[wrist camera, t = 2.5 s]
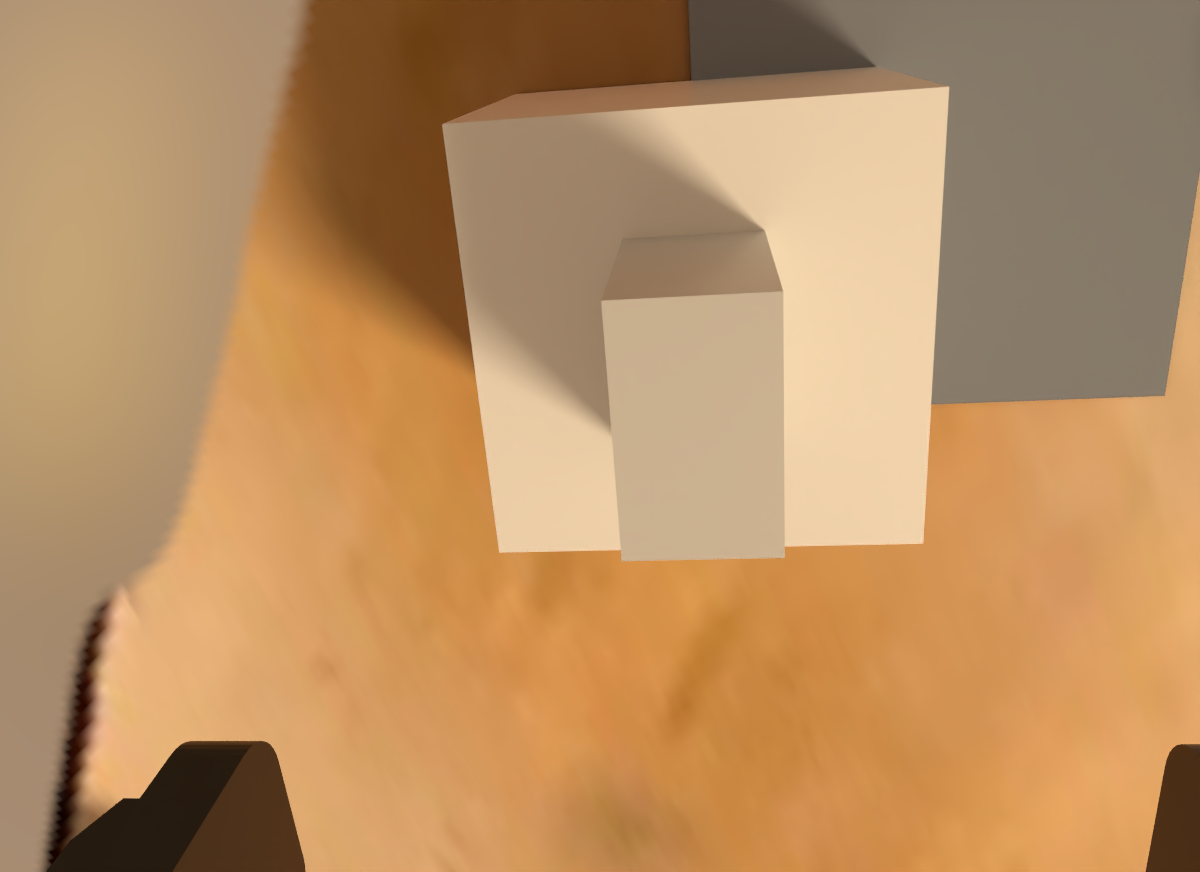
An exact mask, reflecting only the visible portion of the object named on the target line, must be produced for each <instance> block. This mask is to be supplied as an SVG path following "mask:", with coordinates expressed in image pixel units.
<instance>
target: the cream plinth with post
mask: <svg viewBox="0 0 1200 872" xmlns="http://www.w3.org/2000/svg"><path fill="white" fill-rule="evenodd" d="M948 100H949V86H945V85H942V84H938V83H934V82H931V81H927V80H923V79H920V78H916V77H912V76H909V75H905V74H902V73H898V72H894V71H891V70H887V69H883V68H880V67H865V68H852V69H839V70H826V71H813V72H800V73H787V74H774V75H761V76H748V77H735V78H722V79H709V80H696V81H678V82H665V83H652V84H639V85H626V86H613V87H600V88H587V89H574V90H561V91H548V92H535V93H522V94H514V95H512V96H509V97H507V98H504V99H502V100H499V101H497V102H495V103H492V104H490V105H487V106H485V107H482V108H480V109H478V110H475V111H473V112H470V113H468V114H465V115H463V116H460V117H458V118H456V119H453V120H451V121H448V122H446V123H443V124H442V128H443V136H444V143H445V151H446V158H447V166H448V173H449V181H450V188H451V195H452V203H453V210H454V218H455V225H456V233H457V240H458V248H459V255H460V262H461V270H462V277H463V285H464V292H465V300H466V307H467V315H468V322H469V330H470V337H471V344H472V352H473V359H474V367H475V374H476V382H477V389H478V397H479V404H480V411H481V419H482V426H483V434H484V441H485V449H486V456H487V464H488V471H489V479H490V486H491V493H492V501H493V508H494V516H495V523H496V531H497V538H498V546H499V553H501V552H548V551H595V550H621V558H622V561H651V560H701V559H751V558H785V546H830V545H878V544H923V537H924V520H925V502H926V485H927V467H928V450H929V432H930V415H931V397H932V380H933V362H934V345H935V327H936V310H937V293H938V275H939V258H940V240H941V223H942V205H943V188H944V170H945V153H946V135H947V118H948Z"/></svg>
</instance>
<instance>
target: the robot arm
mask: <svg viewBox="0 0 1200 872" xmlns="http://www.w3.org/2000/svg"><path fill="white" fill-rule="evenodd" d="M47 872H305V863H304V858H303V854H302V850H301V846H300V843H299V839H298V835H297V831H296V827H295V823H294V819H293V815H292V812H291V808H290V804H289V800H288V796H287V792H286V788H285V784H284V781H283V777H282V773H281V769H280V765H279V761H278V758H277V755H276V753H275V751H274V749H273V748H272V746H271V745H270V744H268V743H267V742H264V741H189V742H185V743H183V744H182V745H180V746H179V747H178V748H177V749H176V750H175V751H174V752H173V753H172V754H171V756H170V757H169V758H168V760H167V761H166V763H165V764H164V765H163V767H162V768H161V770H160V771H159V772H158V774H157V775H156V777H155V778H154V779H153V781H152V782H151V784H150V785H149V786H148V788H147V789H146V790H145V792H144V793H143V795H142V796H141V797H140V799H131V798H123V799H122V800H121V801H120V802H118V803H117V804H116V805H115V806H113V807H112V808H111V809H110V810H108V811H107V812H106V813H105V814H103V815H102V816H101V817H100V818H98V819H97V820H96V821H95V822H93V823H92V824H91V825H90V826H88V827H87V828H86V829H85V830H83V831H82V832H81V833H80V834H78V835H77V836H76V837H75V838H73V839H72V840H71V841H70V842H69V843H68V844H67V845H66V847H65V848H64V849H63V851H62V852H61V853H60V855H59V856H58V857H57V859H56V860H55V861H54V862H53V864H52V865H51V866H50V868H49V869H48V870H47ZM1146 872H1200V744H1181V745H1177V746H1175V747H1174V748H1173V749H1172V750H1171V752H1170V753H1169V755H1168V758H1167V761H1166V765H1165V770H1164V775H1163V781H1162V786H1161V792H1160V797H1159V803H1158V808H1157V814H1156V819H1155V824H1154V830H1153V835H1152V841H1151V846H1150V852H1149V857H1148V862H1147V868H1146Z"/></svg>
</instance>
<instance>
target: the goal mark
mask: <svg viewBox="0 0 1200 872" xmlns="http://www.w3.org/2000/svg"><path fill="white" fill-rule="evenodd" d="M688 7H689V32H690V58H691V81H696V80H709V79H722V78H735V77H748V76H761V75H774V74H787V73H800V72H813V71H826V70H839V69H852V68H865V67H880V68H883V69H887V70H891V71H894V72H898V73H902V74H905V75H909V76H912V77H916V78H920V79H923V80H927V81H931V82H934V83H938V84H942V85H945V86H949V100H948V118H947V135H946V153H945V170H944V188H943V205H942V223H941V240H940V258H939V275H938V293H937V310H936V327H935V345H934V362H933V380H932V397H931V404H956V403H983V402H1010V401H1036V400H1063V399H1090V398H1117V397H1144V396H1165V391H1166V384H1167V378H1168V371H1169V365H1170V359H1171V352H1172V346H1173V339H1174V333H1175V326H1176V320H1177V314H1178V307H1179V301H1180V294H1181V288H1182V281H1183V275H1184V269H1185V262H1186V256H1187V249H1188V243H1189V236H1190V230H1191V224H1192V217H1193V211H1194V204H1195V198H1196V192H1197V185H1198V179H1199V172H1200V0H688Z"/></svg>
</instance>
